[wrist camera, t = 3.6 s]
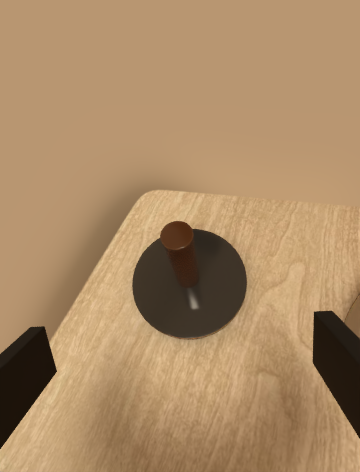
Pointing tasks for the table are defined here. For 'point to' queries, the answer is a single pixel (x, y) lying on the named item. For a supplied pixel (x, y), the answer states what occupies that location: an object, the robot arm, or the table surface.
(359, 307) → the lumpy-topped squat cylinder
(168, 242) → the lid
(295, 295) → the table surface
